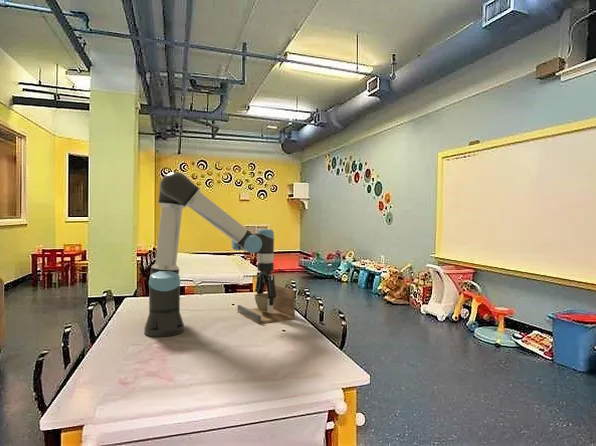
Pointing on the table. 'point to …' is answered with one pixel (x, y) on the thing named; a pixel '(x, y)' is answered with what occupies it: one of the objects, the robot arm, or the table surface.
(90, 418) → the table surface
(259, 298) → the flower pot
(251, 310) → the brown piece
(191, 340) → the table surface
